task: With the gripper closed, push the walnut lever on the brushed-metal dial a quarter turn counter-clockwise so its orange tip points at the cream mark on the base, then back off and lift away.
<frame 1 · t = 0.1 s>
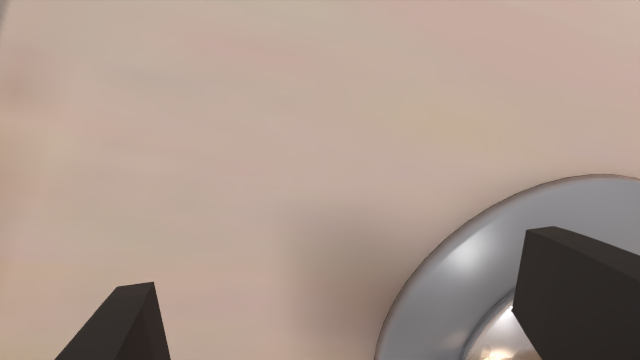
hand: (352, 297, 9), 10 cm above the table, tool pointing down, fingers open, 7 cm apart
dial base: (544, 338, 26), on the table
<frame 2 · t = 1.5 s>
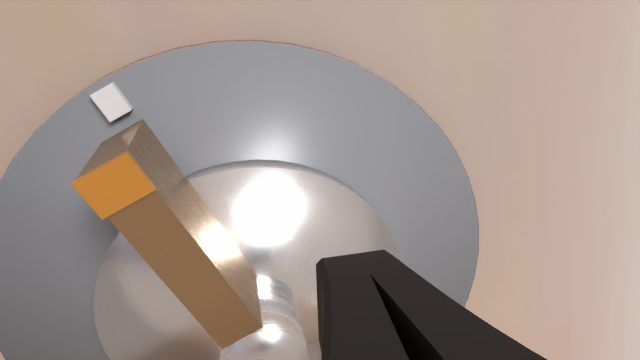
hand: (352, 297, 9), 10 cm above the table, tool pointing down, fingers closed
dial: (243, 307, 16), point 3 cm above the table, hinge at 0.0°
dial base: (254, 278, 20), on the table
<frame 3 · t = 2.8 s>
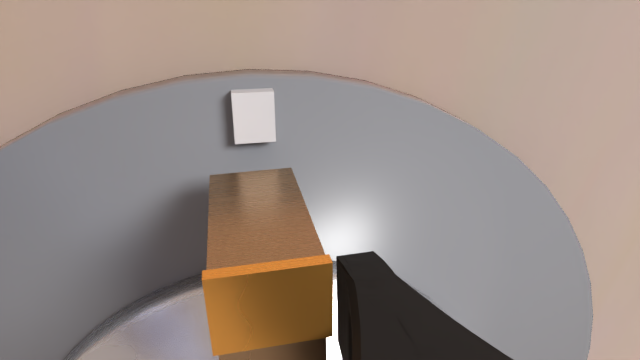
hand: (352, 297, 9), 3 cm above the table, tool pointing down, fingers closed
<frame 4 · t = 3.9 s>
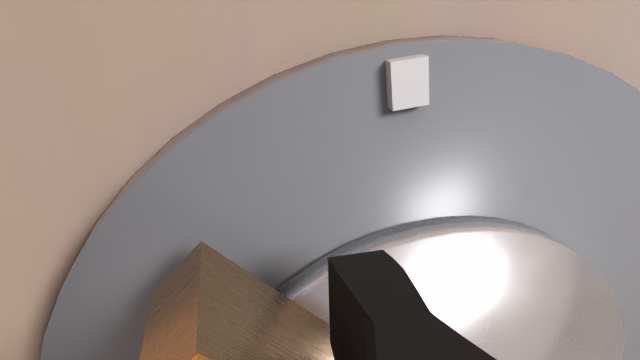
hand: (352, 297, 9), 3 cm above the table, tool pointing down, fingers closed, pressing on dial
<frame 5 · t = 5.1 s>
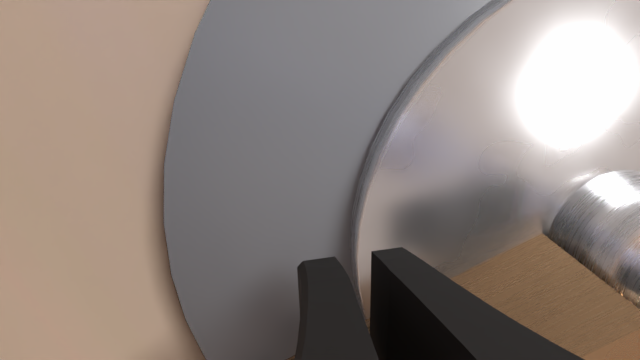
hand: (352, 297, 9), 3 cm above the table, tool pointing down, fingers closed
dial: (595, 282, 10), point 3 cm above the table, hinge at 88.0°, touching gripper
dial base: (549, 193, 13), on the table
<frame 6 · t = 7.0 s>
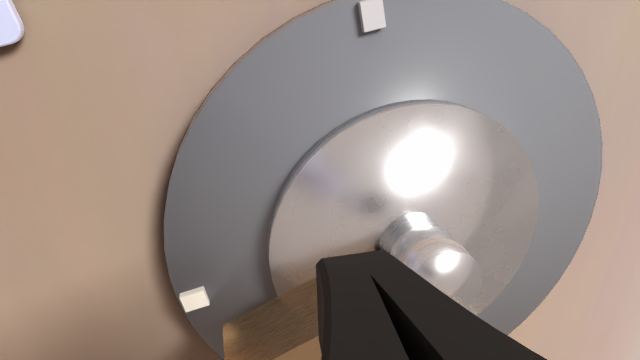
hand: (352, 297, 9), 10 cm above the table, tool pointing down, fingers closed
dial: (395, 274, 18), point 3 cm above the table, hinge at 102.0°
dial base: (393, 220, 21), on the table
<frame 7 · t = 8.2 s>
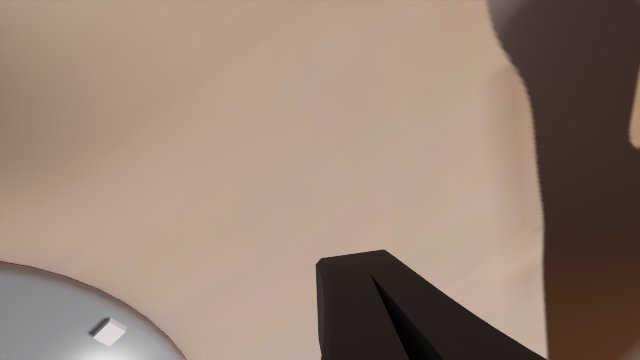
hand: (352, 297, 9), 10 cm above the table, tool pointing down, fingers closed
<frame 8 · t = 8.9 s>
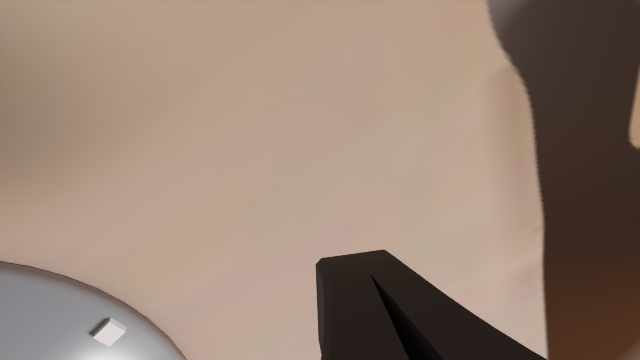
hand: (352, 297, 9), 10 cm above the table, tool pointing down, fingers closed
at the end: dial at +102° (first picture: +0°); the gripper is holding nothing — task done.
